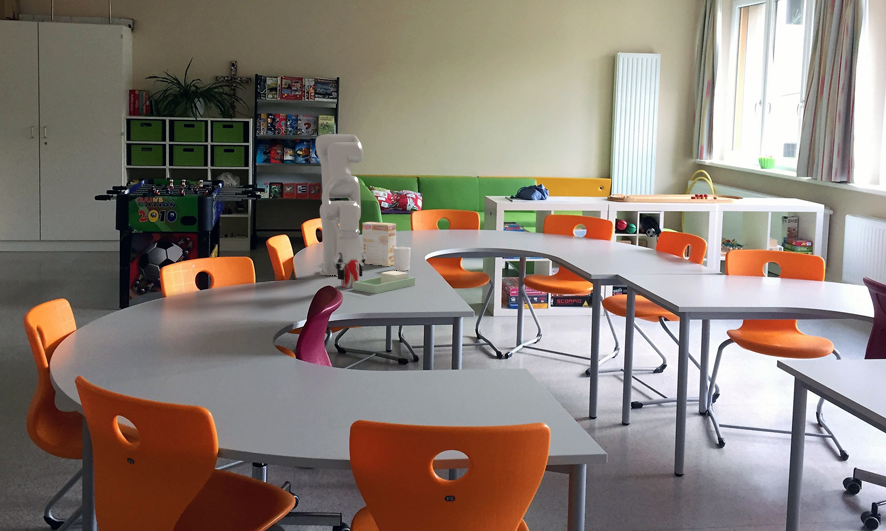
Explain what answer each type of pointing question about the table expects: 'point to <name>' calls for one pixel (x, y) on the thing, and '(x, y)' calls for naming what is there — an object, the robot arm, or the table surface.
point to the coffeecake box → (379, 242)
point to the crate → (381, 285)
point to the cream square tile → (393, 276)
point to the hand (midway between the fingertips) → (350, 277)
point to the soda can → (350, 274)
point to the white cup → (401, 258)
